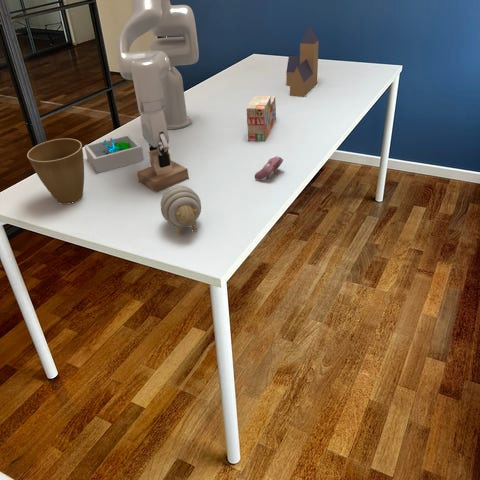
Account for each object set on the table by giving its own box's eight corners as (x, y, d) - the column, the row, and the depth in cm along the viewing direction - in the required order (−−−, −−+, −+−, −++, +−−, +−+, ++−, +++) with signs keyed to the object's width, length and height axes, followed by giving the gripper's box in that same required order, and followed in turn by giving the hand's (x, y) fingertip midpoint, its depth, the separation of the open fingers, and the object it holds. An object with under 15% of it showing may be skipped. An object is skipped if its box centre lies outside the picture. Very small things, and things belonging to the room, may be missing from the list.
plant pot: (55, 186, 152) (41, 138, 143) (101, 186, 150) (89, 138, 141) (34, 211, 140) (17, 160, 130) (84, 211, 138) (69, 160, 129)
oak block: (151, 169, 150) (148, 151, 146) (166, 165, 152) (163, 147, 148) (157, 175, 146) (154, 157, 143) (172, 170, 148) (169, 152, 145)
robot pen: (87, 159, 167) (84, 145, 164) (131, 147, 173) (129, 134, 170) (97, 173, 158) (94, 159, 155) (144, 160, 164) (141, 146, 161)
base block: (139, 183, 151) (136, 172, 149) (170, 170, 157) (168, 159, 155) (157, 194, 145) (155, 182, 143) (188, 180, 151) (187, 168, 149)
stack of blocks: (260, 119, 189) (259, 87, 182) (276, 119, 187) (275, 88, 180) (247, 141, 172) (246, 107, 165) (265, 142, 171) (264, 108, 164)
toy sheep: (173, 246, 121) (167, 208, 115) (155, 215, 134) (148, 179, 128) (213, 234, 125) (209, 197, 118) (191, 205, 137) (186, 170, 131)
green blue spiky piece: (112, 159, 160) (101, 138, 160) (99, 168, 164) (89, 147, 164) (136, 155, 170) (127, 135, 170) (124, 163, 174) (115, 144, 174)
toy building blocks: (317, 83, 220) (319, 25, 206) (303, 97, 207) (304, 35, 192) (291, 81, 225) (291, 24, 211) (276, 94, 211) (275, 33, 197)
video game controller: (264, 187, 147) (273, 170, 142) (252, 178, 148) (260, 161, 143) (279, 173, 154) (288, 157, 149) (267, 165, 154) (276, 148, 149)
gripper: (128, 99, 142) (139, 155, 152) (149, 116, 129) (159, 176, 140) (152, 93, 145) (161, 149, 155) (175, 110, 132) (183, 169, 142)
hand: (160, 161), depth 147 cm, fingers open, 6 cm apart
